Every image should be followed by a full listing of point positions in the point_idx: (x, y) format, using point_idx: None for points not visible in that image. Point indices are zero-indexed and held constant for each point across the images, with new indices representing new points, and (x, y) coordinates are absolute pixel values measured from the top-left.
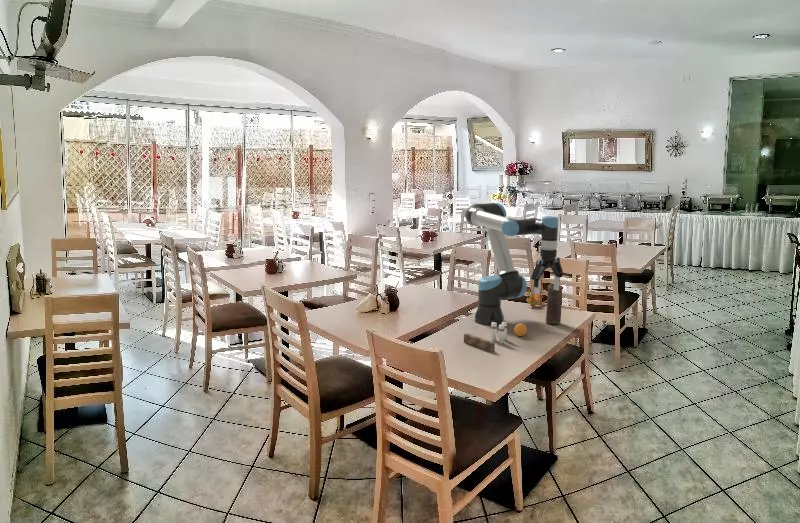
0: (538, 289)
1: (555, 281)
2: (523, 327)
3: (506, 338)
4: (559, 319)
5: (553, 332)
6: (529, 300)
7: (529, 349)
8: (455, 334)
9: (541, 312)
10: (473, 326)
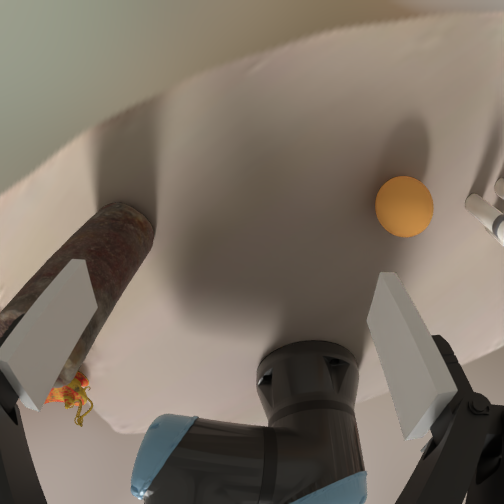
0: (413, 308)
1: (53, 352)
2: (420, 190)
3: (476, 196)
4: (106, 209)
5: (231, 130)
6: (85, 396)
7: (497, 68)
8: (486, 328)
9: None
10: None
